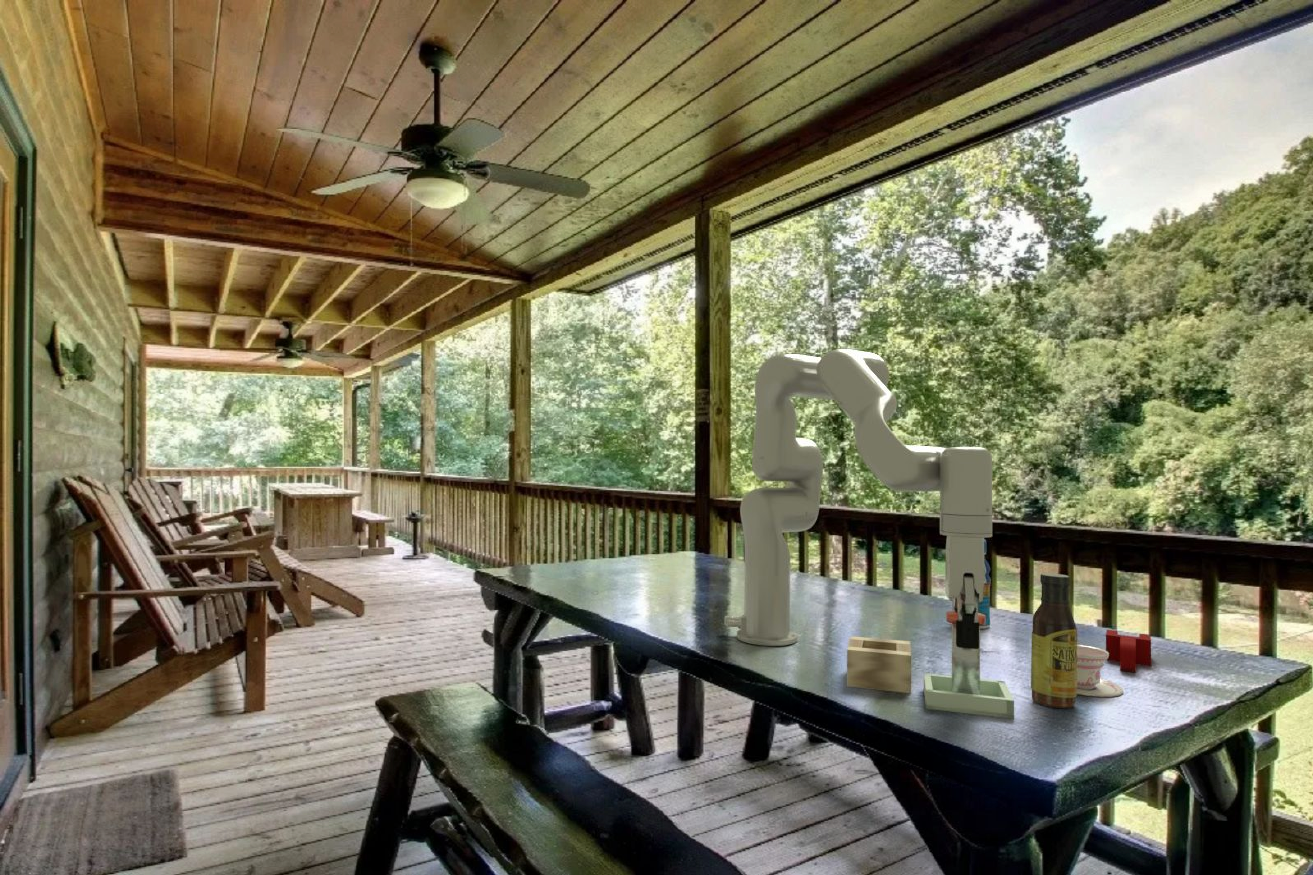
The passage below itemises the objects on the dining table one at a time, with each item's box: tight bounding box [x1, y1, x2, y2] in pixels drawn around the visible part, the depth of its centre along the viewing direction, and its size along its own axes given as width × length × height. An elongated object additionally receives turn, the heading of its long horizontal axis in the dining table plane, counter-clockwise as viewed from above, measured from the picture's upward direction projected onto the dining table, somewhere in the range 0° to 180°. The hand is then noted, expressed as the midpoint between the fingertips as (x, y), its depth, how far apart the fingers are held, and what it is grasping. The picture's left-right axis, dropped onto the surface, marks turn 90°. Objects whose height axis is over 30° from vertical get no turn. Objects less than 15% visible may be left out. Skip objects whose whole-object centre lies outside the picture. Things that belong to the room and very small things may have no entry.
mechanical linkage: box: [1105, 629, 1152, 673], centre depth 135 cm, size 16×7×5 cm, turn 146°
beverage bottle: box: [951, 539, 992, 630], centre depth 166 cm, size 8×8×20 cm
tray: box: [923, 673, 1015, 720], centre depth 111 cm, size 12×10×3 cm
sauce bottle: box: [1030, 572, 1078, 709], centre depth 111 cm, size 7×6×20 cm
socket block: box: [846, 636, 912, 694], centre depth 121 cm, size 10×10×6 cm
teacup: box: [1077, 644, 1124, 698], centre depth 120 cm, size 12×12×6 cm
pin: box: [945, 610, 986, 695], centre depth 111 cm, size 6×6×12 cm
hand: (965, 641), depth 111 cm, fingers closed on pin, 5 cm apart
